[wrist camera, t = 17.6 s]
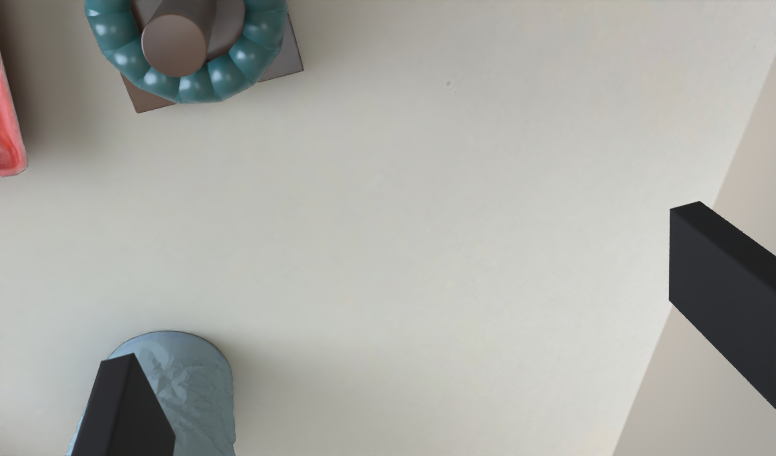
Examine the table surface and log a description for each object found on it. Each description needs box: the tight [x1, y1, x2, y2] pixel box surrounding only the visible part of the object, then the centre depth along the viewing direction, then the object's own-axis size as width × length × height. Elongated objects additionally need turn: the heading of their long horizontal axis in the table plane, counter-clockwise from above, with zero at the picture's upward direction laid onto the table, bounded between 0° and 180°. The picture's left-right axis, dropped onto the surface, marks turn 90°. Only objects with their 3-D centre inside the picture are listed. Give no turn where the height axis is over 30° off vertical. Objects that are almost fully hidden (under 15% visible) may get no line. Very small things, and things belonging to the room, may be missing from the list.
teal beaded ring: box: [85, 0, 288, 104], centre depth 32 cm, size 9×9×2 cm
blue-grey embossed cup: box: [66, 331, 236, 456], centre depth 39 cm, size 10×10×12 cm
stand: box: [120, 0, 304, 113], centre depth 30 cm, size 9×9×10 cm
